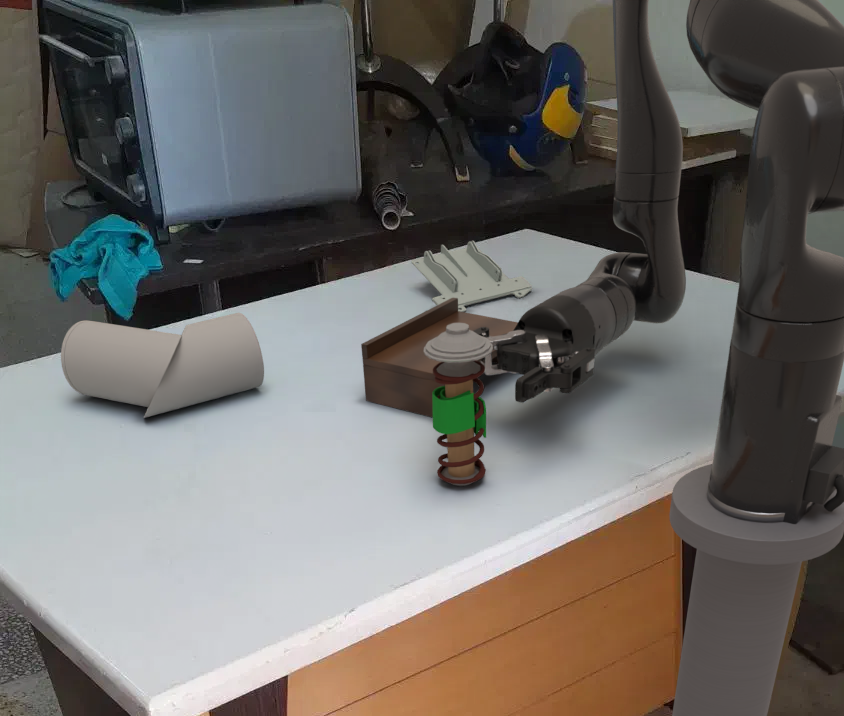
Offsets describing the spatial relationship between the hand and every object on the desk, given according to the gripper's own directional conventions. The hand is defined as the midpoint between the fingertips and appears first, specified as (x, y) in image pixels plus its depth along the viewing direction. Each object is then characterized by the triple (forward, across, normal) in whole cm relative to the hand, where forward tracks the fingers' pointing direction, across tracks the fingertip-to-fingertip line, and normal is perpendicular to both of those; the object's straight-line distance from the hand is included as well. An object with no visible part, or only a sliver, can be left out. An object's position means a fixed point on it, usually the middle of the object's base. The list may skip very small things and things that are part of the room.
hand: (481, 383), depth 98 cm
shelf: (-16, -15, +8) cm, 24 cm away
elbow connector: (+4, -43, +9) cm, 44 cm away
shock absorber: (+4, 0, +9) cm, 9 cm away
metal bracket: (-45, -33, +9) cm, 57 cm away
